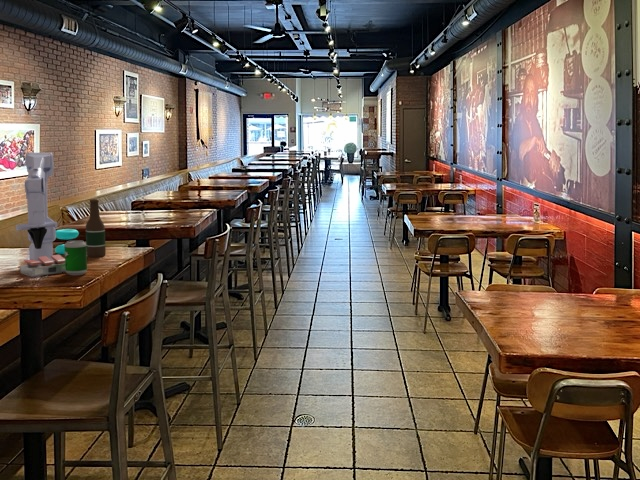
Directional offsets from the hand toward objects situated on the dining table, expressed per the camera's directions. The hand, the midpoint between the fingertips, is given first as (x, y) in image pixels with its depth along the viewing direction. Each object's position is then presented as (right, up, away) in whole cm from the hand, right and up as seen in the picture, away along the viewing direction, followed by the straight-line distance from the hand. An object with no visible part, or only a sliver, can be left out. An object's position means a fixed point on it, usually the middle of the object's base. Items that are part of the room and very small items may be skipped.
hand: (38, 248), depth 239 cm
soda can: (+13, -10, +2) cm, 17 cm away
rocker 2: (+2, -5, +3) cm, 6 cm away
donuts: (-7, -3, +46) cm, 46 cm away
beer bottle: (+8, -4, +40) cm, 41 cm away
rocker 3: (+5, -4, +7) cm, 9 cm away
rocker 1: (-2, -5, -1) cm, 5 cm away
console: (+2, -9, +3) cm, 10 cm away
